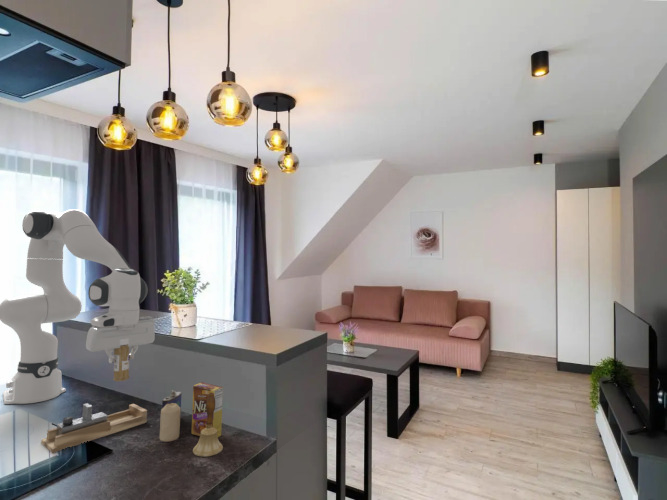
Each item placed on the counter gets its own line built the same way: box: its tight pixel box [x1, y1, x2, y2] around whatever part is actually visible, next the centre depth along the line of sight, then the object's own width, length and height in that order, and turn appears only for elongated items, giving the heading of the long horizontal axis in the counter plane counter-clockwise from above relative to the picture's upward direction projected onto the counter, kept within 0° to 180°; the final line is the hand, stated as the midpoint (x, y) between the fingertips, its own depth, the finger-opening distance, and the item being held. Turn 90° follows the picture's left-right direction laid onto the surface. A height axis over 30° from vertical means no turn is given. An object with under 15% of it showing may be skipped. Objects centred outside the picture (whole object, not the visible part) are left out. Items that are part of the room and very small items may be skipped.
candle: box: [159, 403, 182, 443], centre depth 113 cm, size 6×6×10 cm
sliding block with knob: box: [56, 402, 108, 436], centre depth 112 cm, size 4×12×8 cm, turn 144°
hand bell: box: [192, 393, 224, 458], centre depth 107 cm, size 8×8×16 cm
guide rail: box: [40, 403, 148, 454], centre depth 115 cm, size 9×26×4 cm, turn 144°
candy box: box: [191, 381, 224, 438], centre depth 116 cm, size 9×4×15 cm, turn 65°
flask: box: [161, 389, 182, 419], centre depth 123 cm, size 9×3×11 cm, turn 171°
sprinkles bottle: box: [112, 339, 130, 382], centre depth 121 cm, size 5×5×13 cm
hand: (121, 361), depth 121 cm, fingers closed on sprinkles bottle, 4 cm apart
